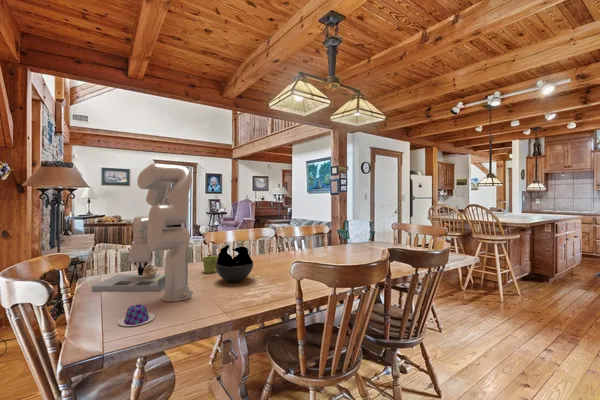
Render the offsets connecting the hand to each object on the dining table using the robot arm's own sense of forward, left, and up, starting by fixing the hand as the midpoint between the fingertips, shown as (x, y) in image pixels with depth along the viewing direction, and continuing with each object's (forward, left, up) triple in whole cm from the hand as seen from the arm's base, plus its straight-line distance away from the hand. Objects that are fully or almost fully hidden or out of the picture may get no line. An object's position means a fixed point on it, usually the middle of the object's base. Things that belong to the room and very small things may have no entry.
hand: (141, 274), depth 157 cm
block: (-3, -2, -1) cm, 4 cm away
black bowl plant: (-42, -24, -4) cm, 49 cm away
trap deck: (-2, +4, -4) cm, 6 cm away
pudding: (-42, +32, -5) cm, 53 cm away
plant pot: (-17, -32, -4) cm, 37 cm away
